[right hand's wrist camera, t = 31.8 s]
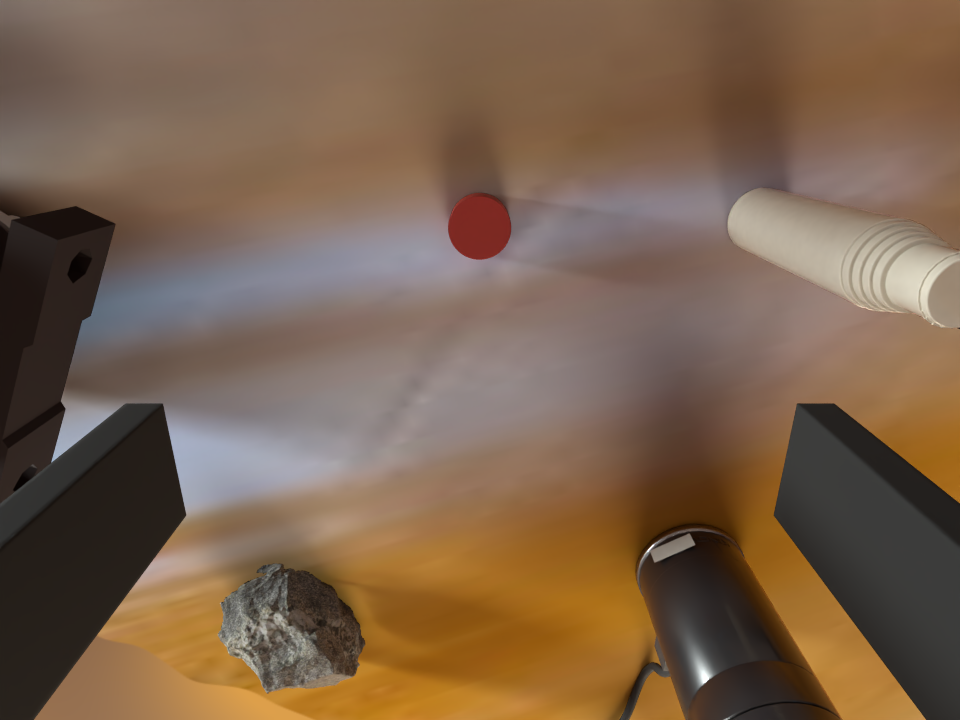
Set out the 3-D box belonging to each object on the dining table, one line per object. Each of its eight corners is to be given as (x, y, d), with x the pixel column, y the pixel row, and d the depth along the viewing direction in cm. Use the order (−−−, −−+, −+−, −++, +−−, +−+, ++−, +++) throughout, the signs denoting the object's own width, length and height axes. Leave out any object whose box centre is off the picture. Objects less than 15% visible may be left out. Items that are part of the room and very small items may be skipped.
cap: (521, 227, 43) (523, 232, 41) (476, 265, 44) (476, 272, 42) (483, 179, 42) (483, 182, 40) (437, 220, 43) (435, 224, 41)
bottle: (782, 253, 44) (998, 348, 26) (721, 250, 44) (893, 341, 26) (798, 189, 42) (1041, 241, 24) (734, 185, 42) (929, 233, 24)
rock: (216, 604, 55) (185, 663, 49) (261, 538, 53) (234, 592, 47) (344, 666, 58) (330, 728, 52) (392, 606, 56) (383, 665, 50)
